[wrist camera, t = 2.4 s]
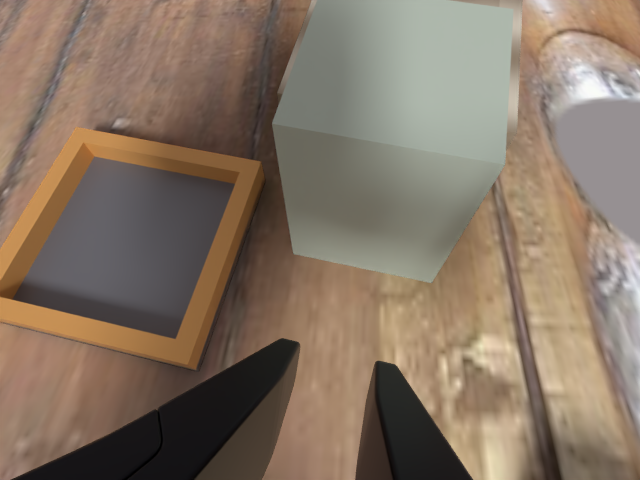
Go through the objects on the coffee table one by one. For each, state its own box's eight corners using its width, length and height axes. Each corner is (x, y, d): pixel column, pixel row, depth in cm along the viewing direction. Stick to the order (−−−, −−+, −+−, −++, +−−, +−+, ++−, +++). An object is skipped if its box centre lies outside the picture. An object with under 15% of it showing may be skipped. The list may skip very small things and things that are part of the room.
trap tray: (198, 371, 22) (187, 364, 20) (-9, 320, 23) (-37, 309, 22) (265, 180, 27) (261, 161, 25) (91, 147, 28) (75, 126, 27)
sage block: (431, 283, 24) (504, 164, 14) (293, 254, 25) (271, 123, 15) (446, 168, 27) (513, 9, 18) (324, 146, 28) (323, -17, 18)
